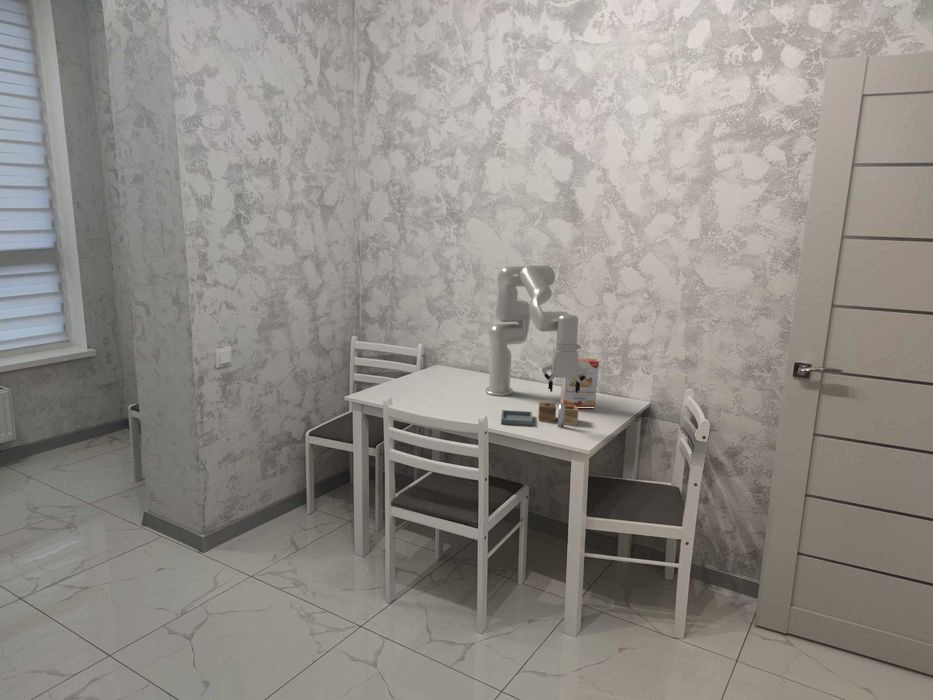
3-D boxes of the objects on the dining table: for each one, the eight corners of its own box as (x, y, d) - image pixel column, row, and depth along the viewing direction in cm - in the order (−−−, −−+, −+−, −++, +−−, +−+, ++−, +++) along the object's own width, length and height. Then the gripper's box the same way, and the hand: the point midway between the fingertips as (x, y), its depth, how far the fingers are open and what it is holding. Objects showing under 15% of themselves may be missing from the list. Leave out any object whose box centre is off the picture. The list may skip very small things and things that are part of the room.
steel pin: (557, 425, 248) (558, 403, 246) (563, 426, 248) (565, 403, 246) (557, 427, 246) (559, 405, 244) (564, 428, 246) (565, 405, 244)
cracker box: (563, 409, 270) (566, 360, 266) (559, 404, 276) (563, 357, 271) (595, 409, 271) (599, 361, 267) (591, 405, 277) (595, 358, 273)
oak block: (559, 419, 257) (560, 404, 255) (575, 420, 256) (576, 405, 255) (560, 424, 250) (561, 409, 249) (577, 425, 250) (578, 410, 249)
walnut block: (538, 416, 259) (539, 402, 258) (554, 417, 259) (555, 403, 258) (538, 421, 253) (539, 406, 252) (555, 422, 253) (556, 407, 251)
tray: (501, 414, 259) (502, 410, 259) (531, 416, 258) (531, 411, 258) (501, 424, 247) (501, 419, 247) (532, 426, 247) (532, 421, 246)
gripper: (588, 346, 243) (585, 390, 246) (542, 344, 244) (540, 388, 248) (590, 350, 236) (587, 395, 239) (543, 348, 237) (541, 393, 240)
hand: (563, 391), depth 243 cm, fingers open, 9 cm apart
